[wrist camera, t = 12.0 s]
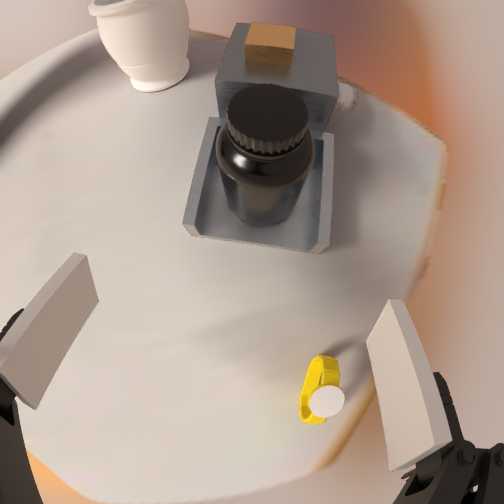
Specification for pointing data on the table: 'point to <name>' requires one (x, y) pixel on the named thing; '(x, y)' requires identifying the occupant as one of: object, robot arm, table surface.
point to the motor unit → (320, 108)
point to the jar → (145, 39)
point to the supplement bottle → (264, 152)
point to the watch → (321, 391)
